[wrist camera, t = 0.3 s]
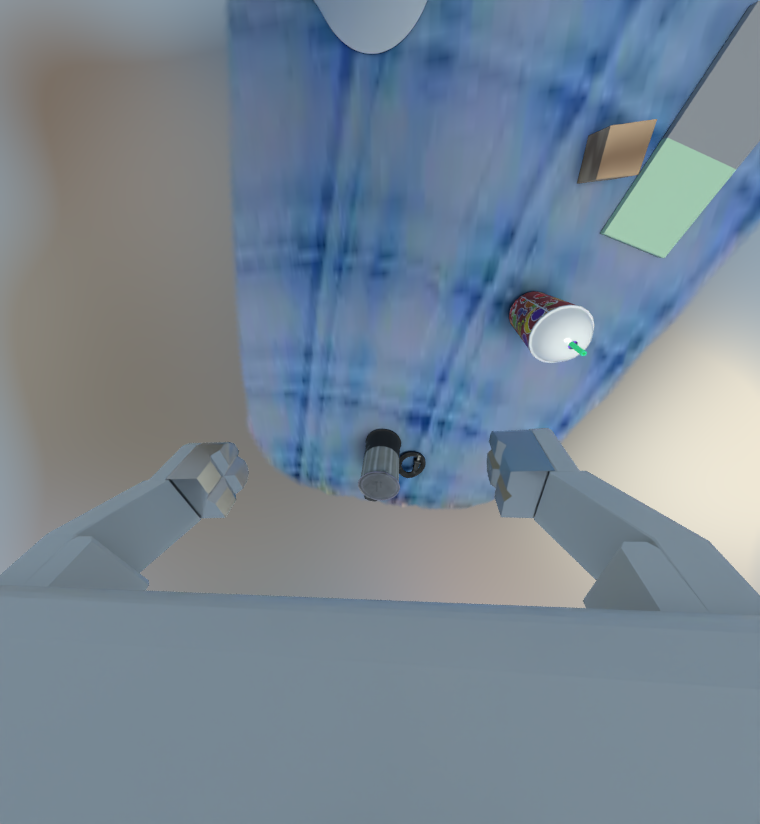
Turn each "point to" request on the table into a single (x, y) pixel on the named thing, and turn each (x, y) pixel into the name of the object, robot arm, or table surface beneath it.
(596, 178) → the walnut block
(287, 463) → the table surface
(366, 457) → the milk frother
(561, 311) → the smoothie
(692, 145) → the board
